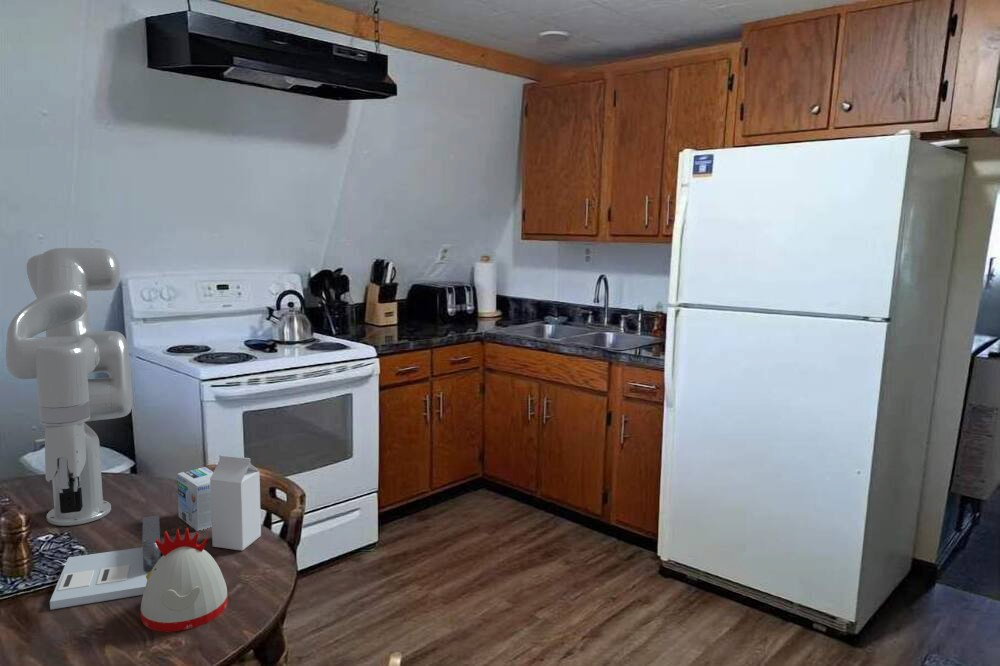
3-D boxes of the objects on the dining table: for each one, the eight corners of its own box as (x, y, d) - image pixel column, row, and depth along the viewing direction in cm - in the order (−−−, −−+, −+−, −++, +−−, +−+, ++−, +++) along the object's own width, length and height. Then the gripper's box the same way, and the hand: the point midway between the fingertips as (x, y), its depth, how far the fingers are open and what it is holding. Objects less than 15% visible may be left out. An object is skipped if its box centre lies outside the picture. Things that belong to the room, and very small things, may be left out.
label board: (68, 564, 133) (68, 556, 133) (153, 552, 139) (153, 544, 139) (50, 609, 118) (49, 600, 118) (146, 593, 124) (146, 584, 123)
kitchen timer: (146, 595, 123) (142, 517, 121) (227, 583, 128) (225, 508, 126) (136, 638, 111) (131, 552, 108) (226, 623, 116) (224, 540, 113)
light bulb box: (177, 517, 156) (175, 472, 154) (206, 509, 161) (205, 465, 159) (197, 532, 149) (195, 485, 147) (227, 523, 154) (225, 478, 152)
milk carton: (242, 551, 141) (240, 464, 138) (212, 547, 142) (209, 460, 139) (261, 536, 148) (259, 453, 145) (232, 532, 149) (229, 450, 146)
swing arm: (160, 536, 142) (158, 512, 142) (161, 569, 129) (159, 544, 128) (144, 538, 141) (142, 515, 140) (143, 572, 128) (142, 547, 127)
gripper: (49, 404, 125) (56, 498, 128) (29, 426, 112) (37, 531, 114) (95, 401, 128) (101, 493, 131) (82, 422, 115) (89, 524, 117)
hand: (71, 510), depth 123 cm, fingers closed
